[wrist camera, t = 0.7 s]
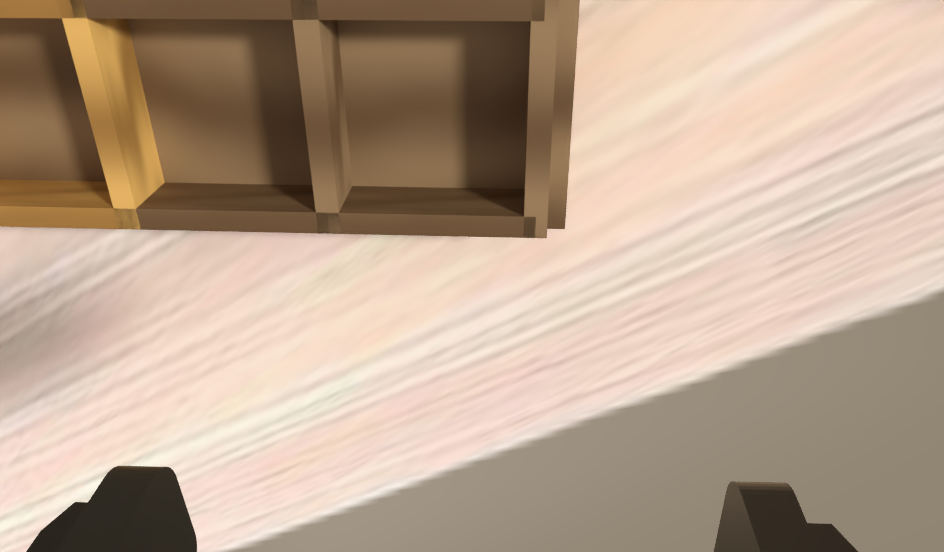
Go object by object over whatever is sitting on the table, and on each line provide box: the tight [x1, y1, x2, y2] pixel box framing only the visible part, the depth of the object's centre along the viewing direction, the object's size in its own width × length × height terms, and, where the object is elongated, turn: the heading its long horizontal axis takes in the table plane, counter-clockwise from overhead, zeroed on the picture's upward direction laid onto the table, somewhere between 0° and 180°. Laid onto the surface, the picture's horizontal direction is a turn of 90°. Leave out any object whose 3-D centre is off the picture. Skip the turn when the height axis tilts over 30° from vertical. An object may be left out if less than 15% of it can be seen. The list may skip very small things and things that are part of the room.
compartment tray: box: [0, 0, 580, 238], centre depth 32 cm, size 12×30×4 cm, turn 90°
